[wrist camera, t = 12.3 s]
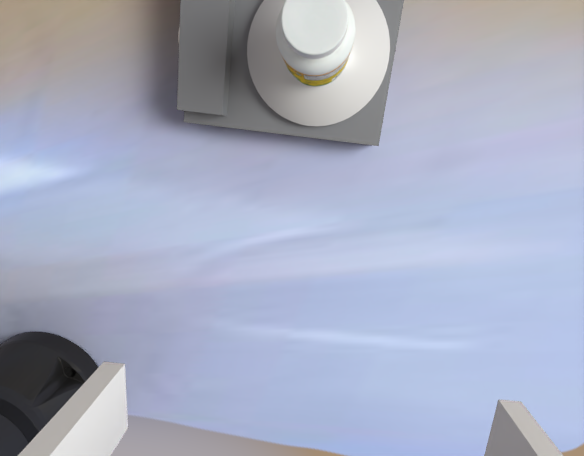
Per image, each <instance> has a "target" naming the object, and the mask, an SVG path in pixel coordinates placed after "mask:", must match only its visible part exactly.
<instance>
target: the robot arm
mask: <svg viewBox="0 0 584 456" xmlns="http://www.w3.org/2000/svg"><path fill="white" fill-rule="evenodd" d="M127 429H128V419H127V398H126V378H125V364H121V363H111V362H103V363H102V364H101V365H100V366H99V368H98V366H97V365H96V363H95V362H94V361H93V359H92V358H91V357H90V356H89V355H88V354H87V353H86V352H85V351H84V350H82V349H81V348H80V347H79V346H77V345H76V344H74V343H72V342H71V341H69V340H67V339H65V338H62V337H60V336H57V335H54V334H50V333H43V332H28V333H23V334H19V335H16V336H14V337H12V338H10V339H8V340H7V341H5V342H4V343H2V344H1V345H0V456H111V454H112V453H113V451H114V449H115V448H116V446H117V445H118V443H119V442H120V440H121V438H122V437H123V435H124V434H125V432H126V430H127ZM484 456H563V455H562V453H561V452H560V451H559V450H558V448H557V447H556V446H555V444H554V443H553V442H552V441H551V439H550V438H549V437H548V436H547V434H546V433H545V432H544V430H543V429H542V428H541V427H540V425H539V424H538V423H537V421H536V420H535V419H534V418H533V416H532V415H531V414H530V413H529V411H528V410H527V409H526V407H525V406H524V405H523V404H522V402H519V401H509V400H498V403H497V407H496V411H495V415H494V419H493V423H492V427H491V431H490V435H489V439H488V443H487V447H486V451H485V455H484Z"/></svg>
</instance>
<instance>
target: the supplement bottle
mask: <svg viewBox="0 0 584 456" xmlns="http://www.w3.org/2000/svg"><path fill="white" fill-rule="evenodd" d="M355 32H356V27H355V19H354V16H353V13H352V10H351V8H350V6H349V5H348V3H347V2H346V0H286V1H285V3H284V5H283V7H282V9H281V10H280V13H279V15H278V18H277V23H276V42H277V46H278V49H279V51H280V54H281V56H282V58H283V60H284V62H285V64H286V66H287V68H288V70H289V71H290V73H291V74H292V75H293V76H294V77H295V78H296V79H297V80H298V81H299V82H301V83H302V84H305V85H307V86H311V87H320V86H324V85H327V84H329V83H331V82H333V81H334V80H335V79H337V78H338V77H339V76H340V74H341V73H342V72H343V70H344V68H345V66H346V64H347V62H348V59H349V56H350V53H351V50H352V47H353V44H354V40H355Z"/></svg>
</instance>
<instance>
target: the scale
mask: <svg viewBox="0 0 584 456" xmlns="http://www.w3.org/2000/svg"><path fill="white" fill-rule="evenodd" d="M285 1H286V0H181V4H180V25H179V32H178V43H179V63H178V92H177V110H182V111H184V122H187V123H195V124H203V125H211V126H220V127H228V128H236V129H244V130H252V131H260V132H268V133H277V134H285V135H293V136H301V137H309V138H317V139H325V140H334V141H342V142H350V143H358V144H366V145H374V146H378V145H379V140H380V134H381V128H382V123H383V117H384V111H385V106H386V100H387V94H388V88H389V83H390V77H391V71H392V66H393V60H394V54H395V48H396V43H397V37H398V31H399V26H400V20H401V14H402V8H403V3H404V0H346V2H347V3H348V5H349V6H350V8H351V10H352V13H353V16H354V19H355V27H356V32H355V40H354V44H353V47H352V50H351V53H350V56H349V59H348V62H347V64H346V66H345V68H344V70H343V72H342V73H341V74H340V76H339V77H338V78H337V79H335V80H334V81H333V82H331V83H329V84H327V85H324V86H320V87H311V86H307V85H305V84H302V83H301V82H299V81H298V80H297V79H296V78H295V77H294V76H293V75H292V74H291V73H290V71H289V70H288V68H287V66H286V64H285V62H284V60H283V58H282V56H281V54H280V51H279V49H278V46H277V42H276V23H277V18H278V15H279V13H280V10H281V9H282V7H283V5H284V3H285Z"/></svg>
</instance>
